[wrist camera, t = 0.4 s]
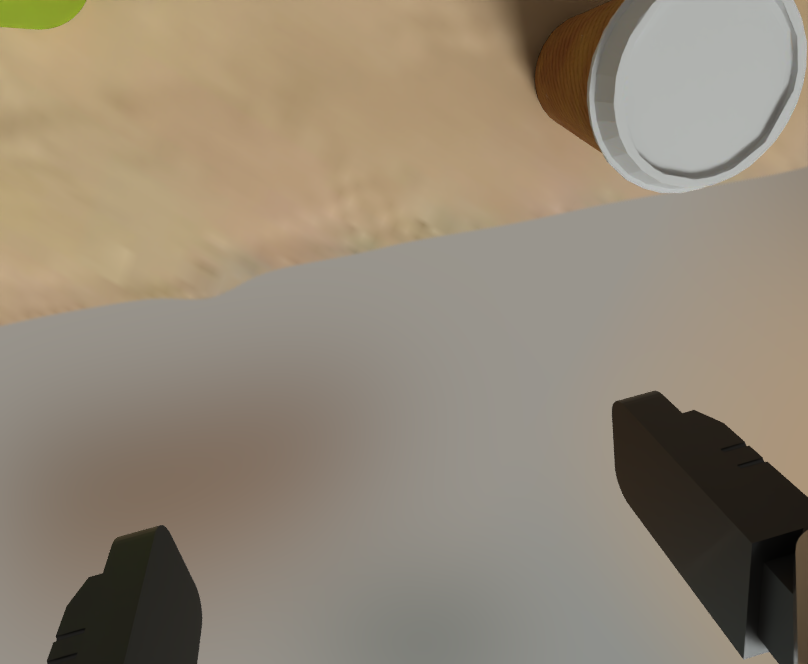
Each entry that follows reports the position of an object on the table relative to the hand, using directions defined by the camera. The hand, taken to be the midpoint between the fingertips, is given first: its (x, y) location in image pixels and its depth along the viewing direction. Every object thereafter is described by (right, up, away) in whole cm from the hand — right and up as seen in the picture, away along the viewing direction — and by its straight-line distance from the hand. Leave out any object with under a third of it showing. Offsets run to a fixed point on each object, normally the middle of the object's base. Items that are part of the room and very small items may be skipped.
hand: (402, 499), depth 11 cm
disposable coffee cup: (+11, +18, +26) cm, 33 cm away
